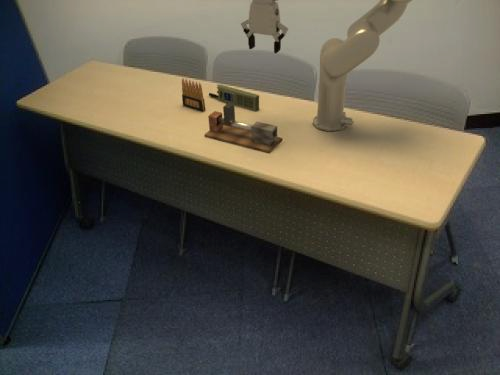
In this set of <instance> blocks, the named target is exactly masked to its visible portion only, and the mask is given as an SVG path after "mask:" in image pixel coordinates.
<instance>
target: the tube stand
mask: <svg viewBox="0 0 500 375" xmlns="http://www.w3.org/2000/svg"><path fill="white" fill-rule="evenodd" d="M218 117H220V118H223V112H221V111H217V110H214V111H213V112H212V113H210V114H209V115H208V126H209V130H208V131H207V132H205V133H204V137H205V138H208V139H212V140H216V141H219V142H223V143H228V144H231V145H234V146H239V147H244V148H247V149H252V150H254V151H259V152H262V153H267V154H271V152H272V151H274V150H275V148H277V146H278V145H279V144H281V142H282V141H283V137H280V136H278V125H274V124H271V123H267V122H261V121H255V122H254V123H253V124H251V125H252V126H251V130H252V132H250V131H246V130H242V129H238V128H233V127H229V126H225V125H221V124H217V118H218Z"/></svg>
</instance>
